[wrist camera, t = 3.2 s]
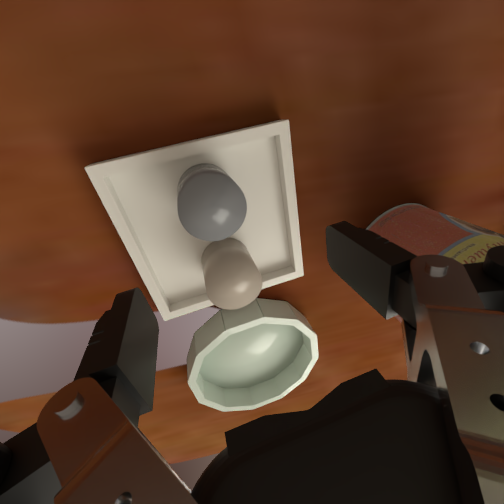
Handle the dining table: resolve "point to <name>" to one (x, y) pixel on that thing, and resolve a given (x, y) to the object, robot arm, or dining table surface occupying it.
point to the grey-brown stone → (230, 274)
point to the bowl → (250, 355)
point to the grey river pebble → (210, 203)
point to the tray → (167, 220)
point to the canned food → (434, 234)
